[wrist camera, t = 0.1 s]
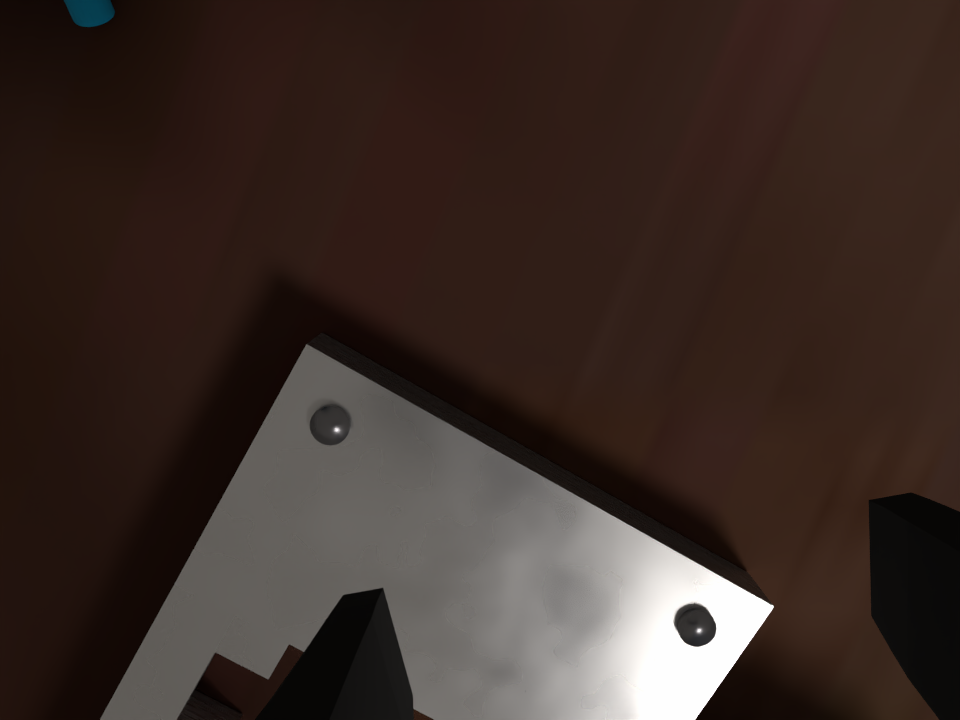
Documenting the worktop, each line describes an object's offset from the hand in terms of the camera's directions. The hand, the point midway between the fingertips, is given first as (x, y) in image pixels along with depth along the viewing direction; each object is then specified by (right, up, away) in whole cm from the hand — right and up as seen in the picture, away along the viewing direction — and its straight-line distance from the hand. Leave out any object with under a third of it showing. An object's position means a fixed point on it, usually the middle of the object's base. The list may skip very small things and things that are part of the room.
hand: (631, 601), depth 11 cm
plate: (-6, -8, +12) cm, 15 cm away
